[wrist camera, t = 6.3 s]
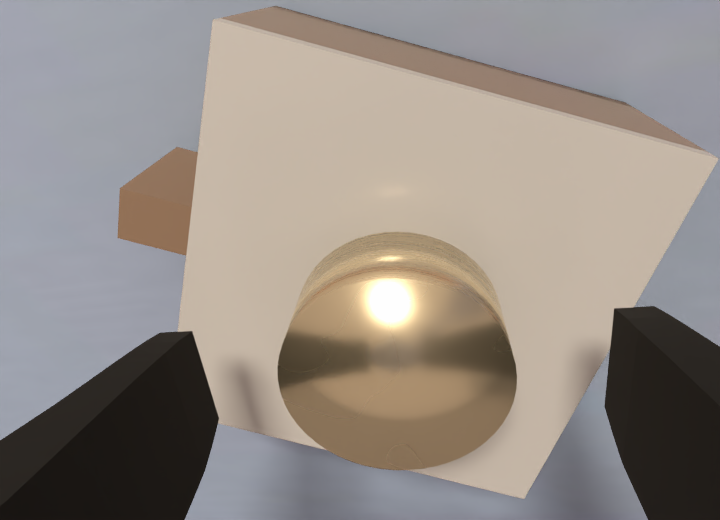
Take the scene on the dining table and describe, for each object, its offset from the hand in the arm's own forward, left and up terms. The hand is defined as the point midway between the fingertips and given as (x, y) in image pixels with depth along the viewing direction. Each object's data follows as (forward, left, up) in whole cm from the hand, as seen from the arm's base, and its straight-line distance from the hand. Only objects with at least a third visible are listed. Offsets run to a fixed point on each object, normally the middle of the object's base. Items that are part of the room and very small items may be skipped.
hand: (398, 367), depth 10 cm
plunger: (0, 0, -6) cm, 6 cm away
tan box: (0, 0, -7) cm, 7 cm away
